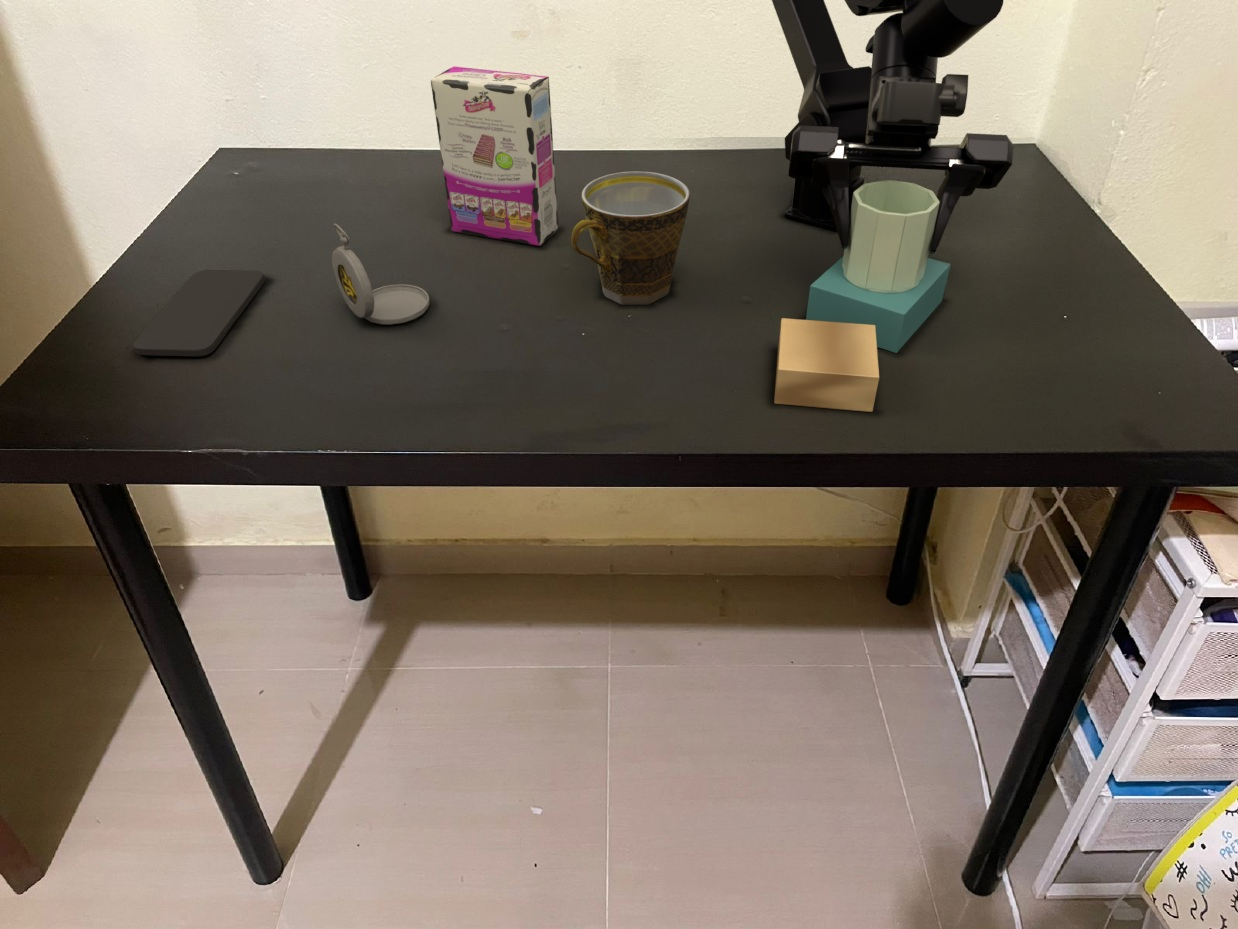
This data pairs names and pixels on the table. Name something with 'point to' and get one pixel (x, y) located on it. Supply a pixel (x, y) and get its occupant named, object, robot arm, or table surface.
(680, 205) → the ceramic cup
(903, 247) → the pale green faceted cup
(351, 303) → the pocket watch
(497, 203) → the candy bar box
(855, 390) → the tan block
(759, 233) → the table surface
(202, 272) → the phone
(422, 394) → the table surface
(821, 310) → the box
